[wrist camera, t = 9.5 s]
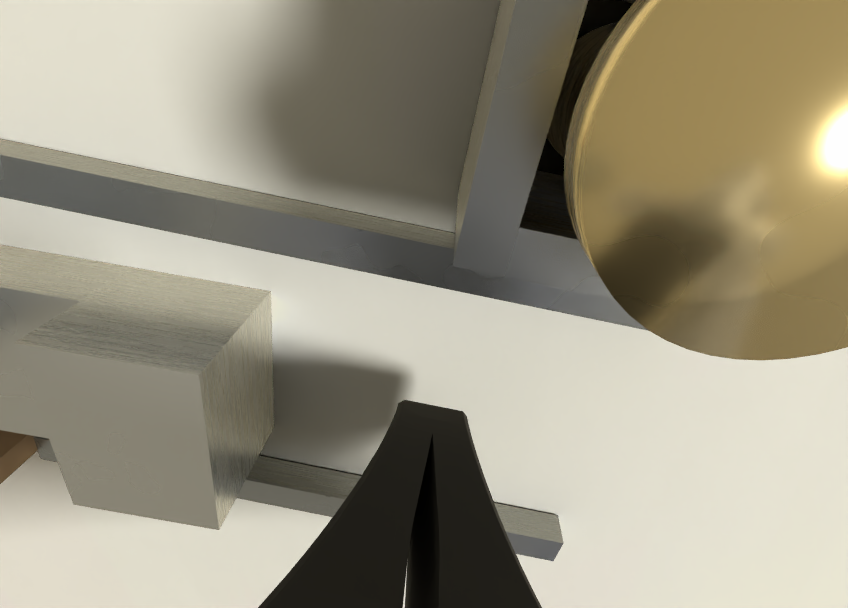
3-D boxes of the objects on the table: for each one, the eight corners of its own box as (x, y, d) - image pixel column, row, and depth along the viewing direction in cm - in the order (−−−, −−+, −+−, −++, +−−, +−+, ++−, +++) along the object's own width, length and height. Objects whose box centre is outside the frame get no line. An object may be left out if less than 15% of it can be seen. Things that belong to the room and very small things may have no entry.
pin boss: (779, -20, 6) (1070, -94, 3) (641, 272, 9) (736, 390, 6) (517, -76, 6) (565, -207, 3) (448, 232, 9) (437, 327, 5)
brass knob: (753, 10, 6) (1344, -94, 2) (660, 210, 7) (893, 392, 3) (548, -35, 6) (718, -232, 2) (494, 175, 7) (526, 317, 3)
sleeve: (682, 280, 9) (701, 300, 8) (548, 533, 13) (553, 561, 12) (-26, 133, 8) (-71, 139, 8) (64, 436, 12) (40, 458, 12)
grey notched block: (272, 289, 10) (198, 375, 7) (275, 423, 12) (219, 529, 9) (-44, 235, 10) (-233, 300, 7) (12, 377, 12) (-120, 469, 9)
